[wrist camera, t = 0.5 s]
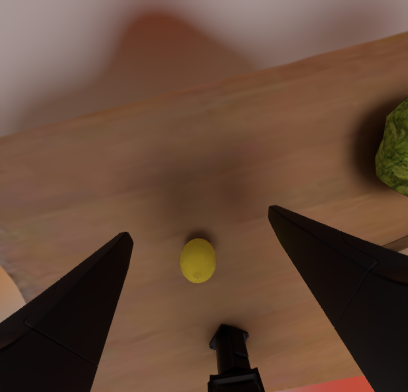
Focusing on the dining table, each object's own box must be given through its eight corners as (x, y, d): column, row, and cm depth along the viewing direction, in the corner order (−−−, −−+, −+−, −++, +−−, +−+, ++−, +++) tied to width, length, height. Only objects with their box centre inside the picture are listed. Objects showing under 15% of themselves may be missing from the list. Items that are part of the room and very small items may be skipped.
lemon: (202, 224, 26) (204, 251, 18) (219, 248, 27) (227, 282, 19) (177, 240, 26) (167, 273, 19) (194, 262, 28) (191, 302, 20)
